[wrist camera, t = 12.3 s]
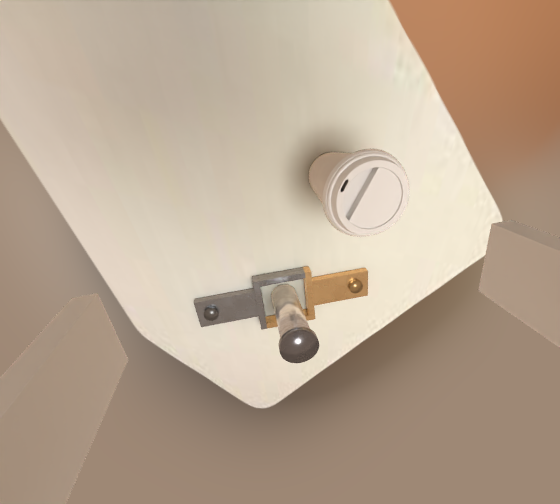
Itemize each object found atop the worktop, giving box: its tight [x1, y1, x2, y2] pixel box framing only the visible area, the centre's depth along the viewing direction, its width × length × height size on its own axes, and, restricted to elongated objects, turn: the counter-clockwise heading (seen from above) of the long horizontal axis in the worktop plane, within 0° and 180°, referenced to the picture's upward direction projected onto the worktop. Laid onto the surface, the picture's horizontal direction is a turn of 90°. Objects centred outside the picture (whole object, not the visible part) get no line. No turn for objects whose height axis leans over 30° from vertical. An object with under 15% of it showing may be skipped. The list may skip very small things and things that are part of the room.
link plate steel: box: [194, 267, 306, 329], centre depth 50 cm, size 10×19×2 cm, turn 97°
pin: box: [271, 284, 319, 363], centre depth 45 cm, size 5×5×13 cm
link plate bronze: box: [265, 266, 368, 328], centre depth 51 cm, size 10×19×2 cm, turn 97°
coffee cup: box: [309, 149, 409, 236], centre depth 37 cm, size 10×10×15 cm
